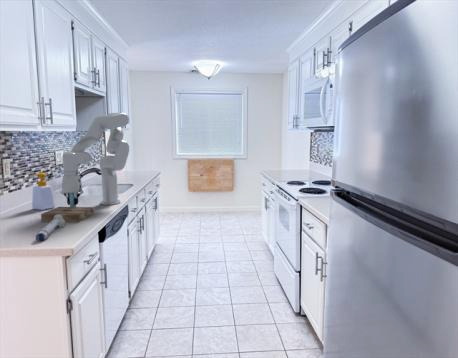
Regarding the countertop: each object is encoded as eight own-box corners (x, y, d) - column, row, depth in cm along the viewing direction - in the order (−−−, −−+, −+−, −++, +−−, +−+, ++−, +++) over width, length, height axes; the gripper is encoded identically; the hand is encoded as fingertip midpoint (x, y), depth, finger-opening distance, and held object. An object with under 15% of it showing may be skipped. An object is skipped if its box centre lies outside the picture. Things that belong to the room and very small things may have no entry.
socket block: (59, 213, 184) (58, 206, 183) (93, 214, 183) (93, 207, 183) (41, 221, 167) (40, 214, 166) (79, 222, 166) (78, 214, 166)
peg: (72, 210, 191) (70, 190, 189) (77, 210, 191) (76, 190, 189) (69, 211, 188) (67, 191, 186) (74, 211, 188) (73, 191, 186)
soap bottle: (24, 210, 189) (21, 173, 186) (45, 206, 202) (43, 171, 199) (35, 212, 186) (32, 174, 183) (56, 207, 198) (53, 172, 195)
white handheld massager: (32, 233, 135) (54, 211, 159) (35, 247, 137) (55, 224, 160) (46, 232, 136) (65, 211, 159) (48, 247, 138) (66, 223, 161)
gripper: (87, 173, 190) (89, 203, 193) (60, 172, 190) (62, 202, 193) (81, 174, 183) (83, 206, 185) (53, 174, 183) (55, 205, 185)
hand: (72, 204), depth 189 cm, fingers closed on peg, 3 cm apart
